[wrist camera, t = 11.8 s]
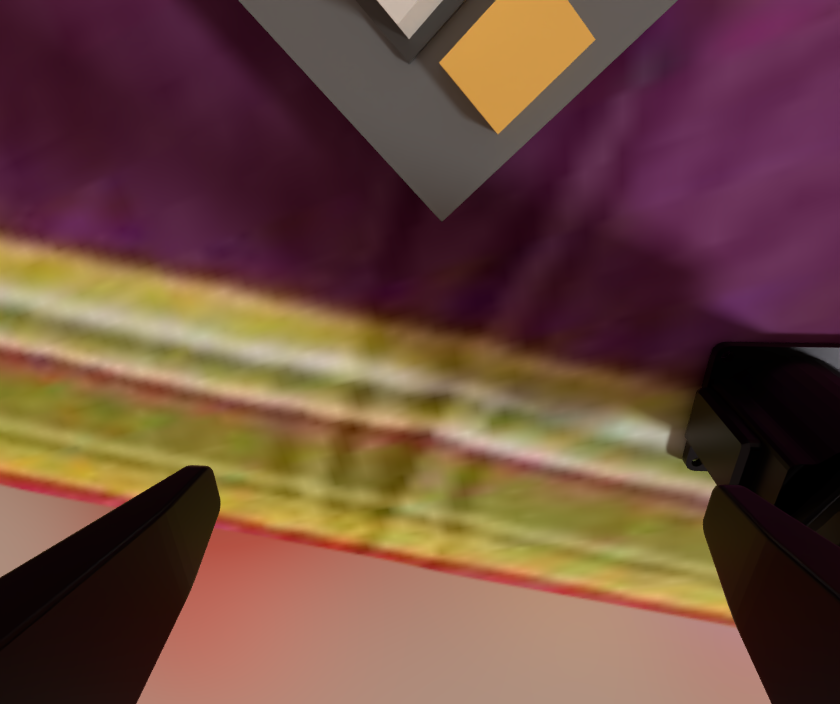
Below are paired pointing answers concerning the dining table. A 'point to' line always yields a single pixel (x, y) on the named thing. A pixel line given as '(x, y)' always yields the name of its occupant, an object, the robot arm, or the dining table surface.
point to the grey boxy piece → (452, 73)
